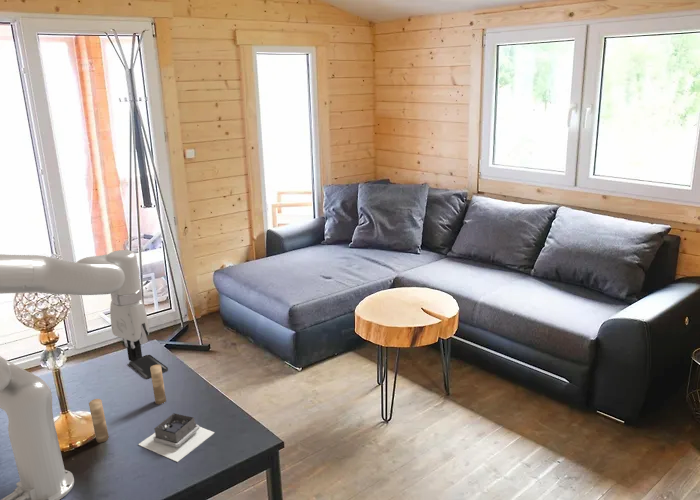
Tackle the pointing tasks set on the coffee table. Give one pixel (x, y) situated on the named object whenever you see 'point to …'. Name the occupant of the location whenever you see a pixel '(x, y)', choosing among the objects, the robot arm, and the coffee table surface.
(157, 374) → the far oak dowel
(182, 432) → the electrical switch
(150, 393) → the coffee table surface
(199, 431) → the mat
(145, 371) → the phone
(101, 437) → the near oak dowel
